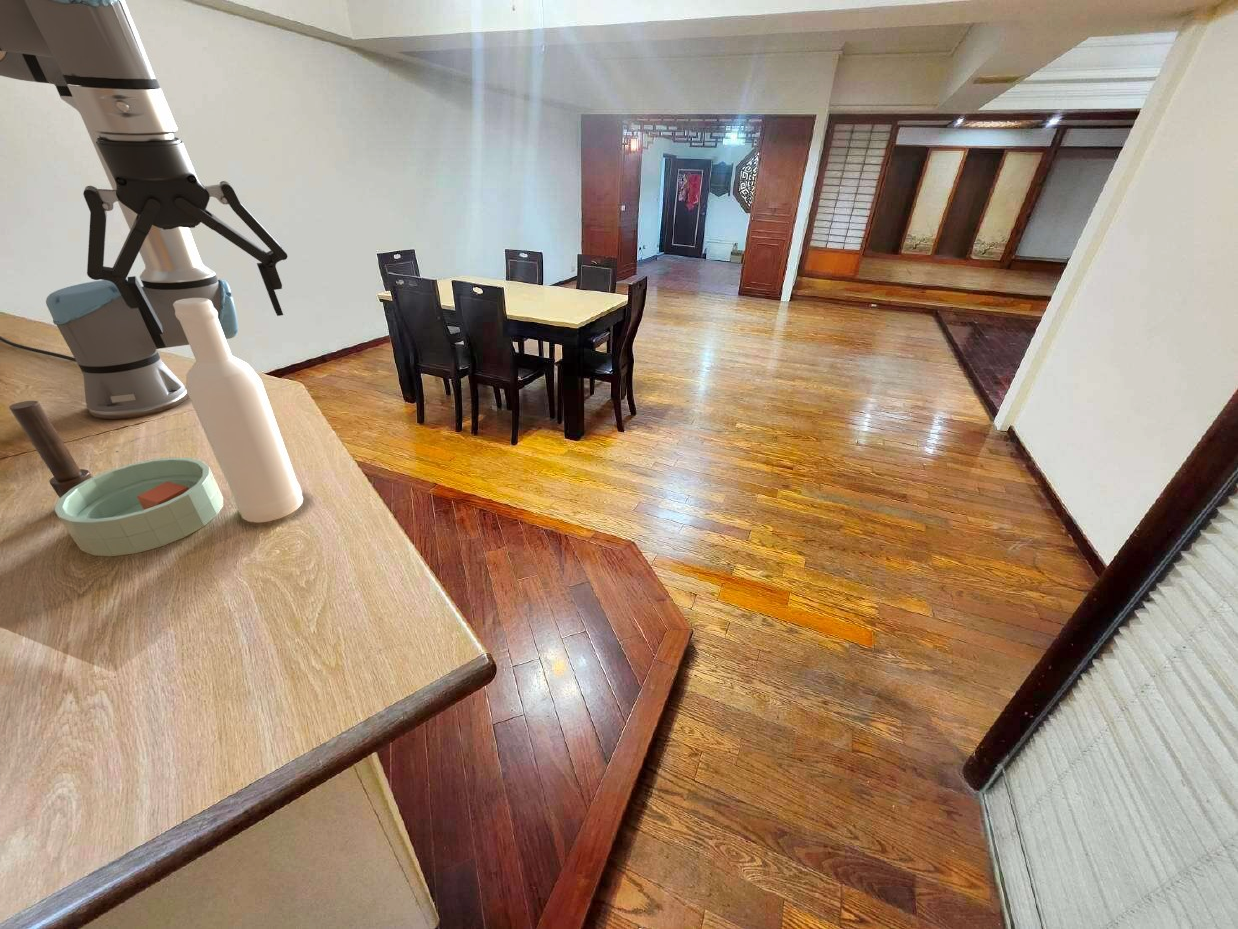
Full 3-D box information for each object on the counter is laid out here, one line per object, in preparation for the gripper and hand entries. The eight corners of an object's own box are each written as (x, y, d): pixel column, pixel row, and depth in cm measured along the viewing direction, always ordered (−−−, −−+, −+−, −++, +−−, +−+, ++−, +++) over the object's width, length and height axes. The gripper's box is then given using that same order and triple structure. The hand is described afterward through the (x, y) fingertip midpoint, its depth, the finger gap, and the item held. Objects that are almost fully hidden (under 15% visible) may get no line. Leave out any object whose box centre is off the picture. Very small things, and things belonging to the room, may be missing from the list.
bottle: (311, 510, 73) (239, 303, 57) (249, 533, 68) (152, 312, 52) (295, 488, 77) (225, 290, 62) (236, 507, 73) (143, 298, 57)
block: (149, 519, 68) (136, 496, 66) (179, 504, 72) (167, 481, 70) (170, 526, 68) (157, 502, 65) (199, 509, 71) (188, 486, 69)
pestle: (65, 506, 71) (-2, 404, 63) (102, 494, 74) (42, 395, 66) (71, 516, 69) (3, 413, 61) (109, 504, 72) (48, 404, 64)
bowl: (67, 525, 68) (43, 489, 65) (202, 479, 78) (187, 446, 75) (96, 577, 60) (70, 539, 57) (242, 518, 71) (227, 483, 67)
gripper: (-36, 139, 46) (99, 351, 59) (273, 139, 58) (328, 314, 71) (-20, 130, 50) (102, 328, 63) (263, 132, 63) (316, 297, 76)
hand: (222, 321), depth 67 cm, fingers open, 13 cm apart
